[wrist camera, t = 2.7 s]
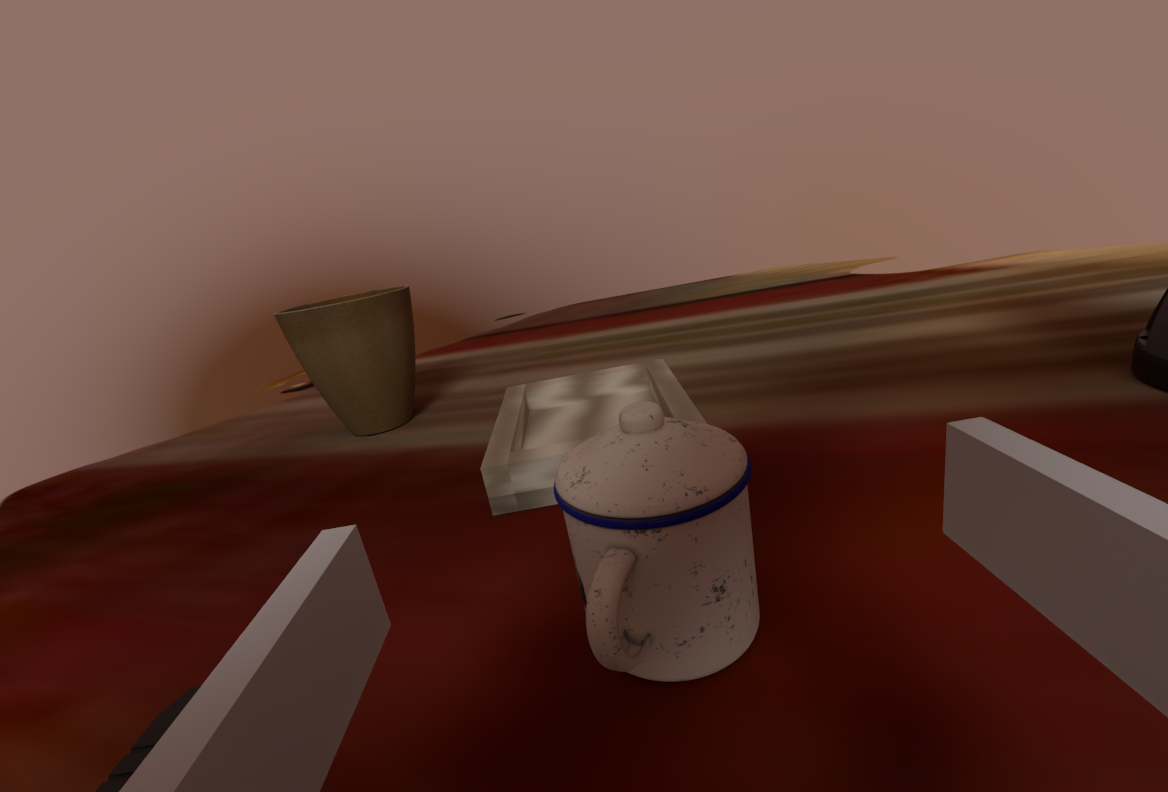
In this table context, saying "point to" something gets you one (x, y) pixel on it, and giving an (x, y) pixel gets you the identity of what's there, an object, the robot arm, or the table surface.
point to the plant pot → (358, 355)
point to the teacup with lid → (662, 544)
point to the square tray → (566, 426)
